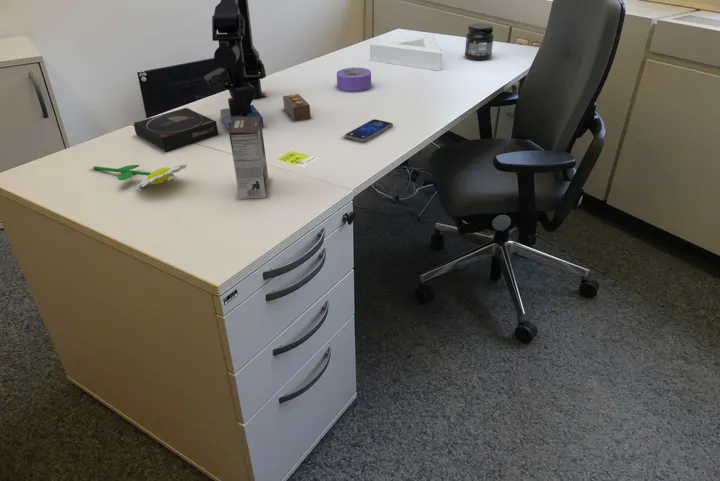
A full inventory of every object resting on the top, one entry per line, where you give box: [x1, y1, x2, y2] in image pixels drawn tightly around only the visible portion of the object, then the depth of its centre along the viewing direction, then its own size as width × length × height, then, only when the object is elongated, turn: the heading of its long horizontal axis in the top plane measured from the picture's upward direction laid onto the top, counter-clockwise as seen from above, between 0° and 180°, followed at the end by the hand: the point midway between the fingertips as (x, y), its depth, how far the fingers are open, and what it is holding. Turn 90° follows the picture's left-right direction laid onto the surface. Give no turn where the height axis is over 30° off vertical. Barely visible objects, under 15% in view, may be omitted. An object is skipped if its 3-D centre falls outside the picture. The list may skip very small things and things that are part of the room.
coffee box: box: [228, 116, 270, 200], centre depth 124 cm, size 9×6×16 cm
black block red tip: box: [227, 97, 252, 116], centre depth 160 cm, size 6×2×5 cm, turn 114°
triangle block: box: [369, 33, 442, 72], centre depth 215 cm, size 30×26×6 cm
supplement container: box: [464, 22, 495, 62], centre depth 215 cm, size 10×10×12 cm
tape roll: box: [336, 67, 372, 93], centre depth 189 cm, size 12×12×5 cm
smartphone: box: [344, 118, 394, 143], centre depth 155 cm, size 7×1×15 cm
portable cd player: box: [133, 107, 219, 153], centre depth 156 cm, size 16×17×4 cm
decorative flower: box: [93, 164, 188, 192], centre depth 132 cm, size 13×5×30 cm
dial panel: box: [219, 104, 265, 132], centre depth 163 cm, size 12×10×3 cm
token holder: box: [282, 93, 311, 122], centre depth 168 cm, size 11×5×5 cm, turn 23°
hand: (240, 112), depth 162 cm, fingers open, 9 cm apart
